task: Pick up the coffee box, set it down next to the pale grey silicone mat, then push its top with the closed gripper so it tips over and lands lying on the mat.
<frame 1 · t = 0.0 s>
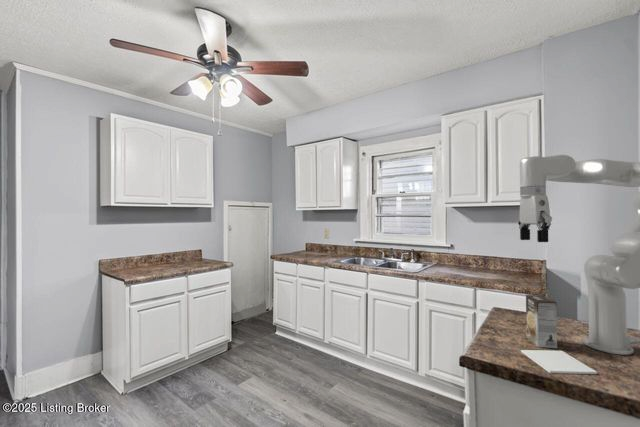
hand: (533, 240, 107), 37 cm above the counter, tool pointing down, fingers open, 9 cm apart
coffee box: (541, 343, 110), on the counter
mat: (556, 362, 95), on the counter
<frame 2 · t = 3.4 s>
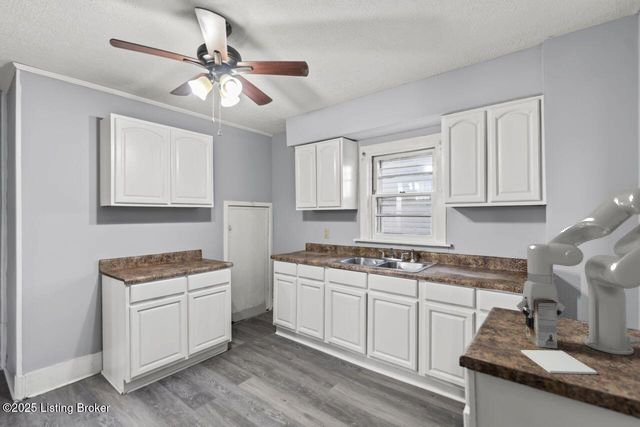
hand: (541, 327, 110), 5 cm above the counter, tool pointing down, fingers closed on coffee box, 6 cm apart
coffee box: (541, 343, 110), on the counter, touching gripper
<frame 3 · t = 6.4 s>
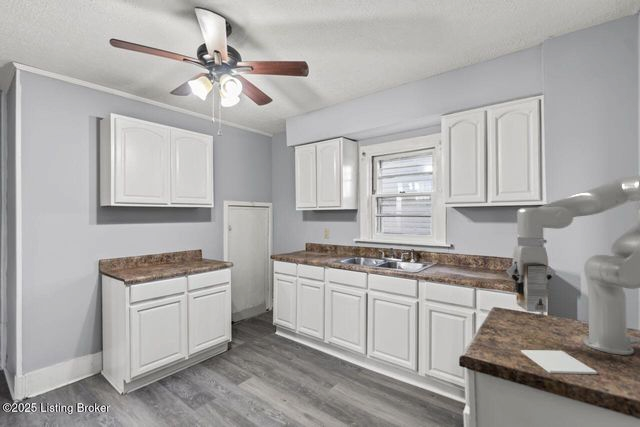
hand: (530, 293, 107), 18 cm above the counter, tool pointing down, fingers closed on coffee box, 6 cm apart
coffee box: (531, 308, 107), point 13 cm above the counter, touching gripper
when the fingers open (6 cm above the counter, at t = 9.5 s): coffee box stays where it is, on the counter.
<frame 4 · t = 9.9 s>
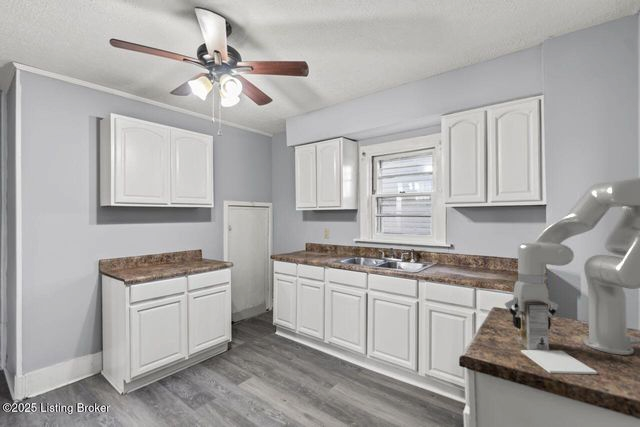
hand: (531, 327, 107), 6 cm above the counter, tool pointing down, fingers open, 9 cm apart
coffee box: (532, 346, 107), on the counter
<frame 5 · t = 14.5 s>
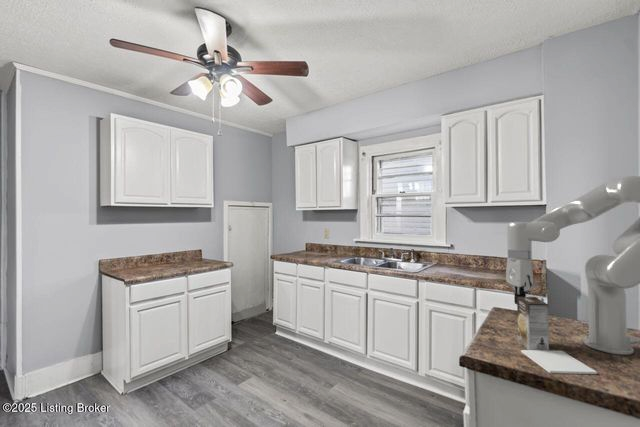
hand: (520, 304, 114), 13 cm above the counter, tool pointing down, fingers closed
coffee box: (532, 346, 107), on the counter, touching gripper
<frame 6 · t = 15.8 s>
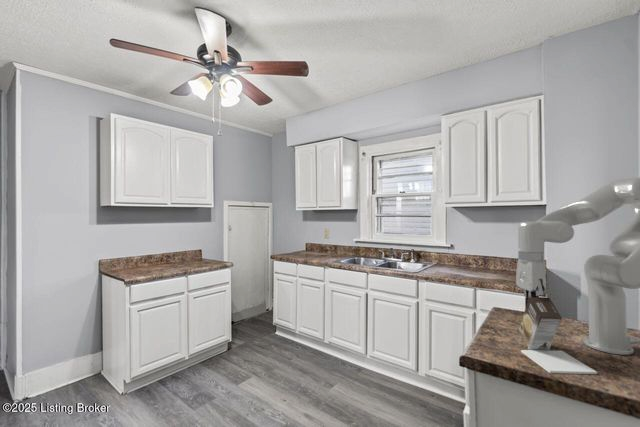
hand: (531, 309, 107), 13 cm above the counter, tool pointing down, fingers closed
coffee box: (533, 340, 107), point 2 cm above the counter, touching gripper
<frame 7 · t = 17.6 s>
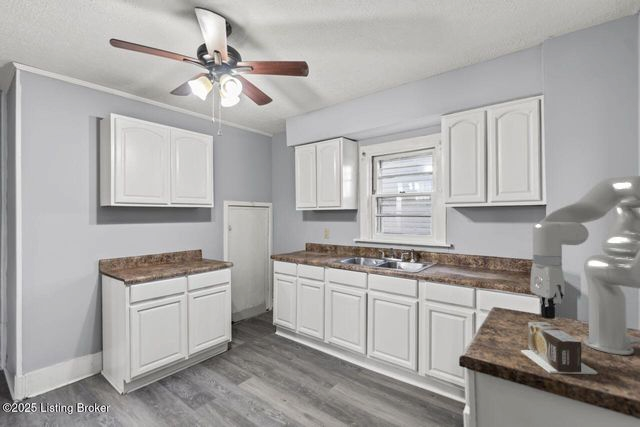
hand: (548, 317, 99), 13 cm above the counter, tool pointing down, fingers closed
coffee box: (537, 335, 104), point 5 cm above the counter, touching mat
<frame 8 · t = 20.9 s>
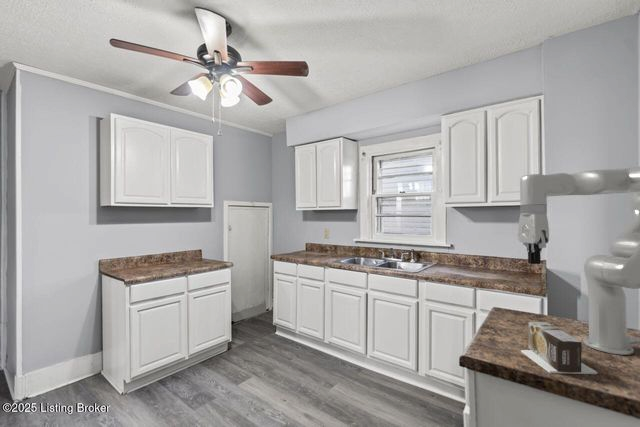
hand: (534, 263, 105), 29 cm above the counter, tool pointing down, fingers closed
nothing on the counter moved.
at the end: coffee box tilted 89°; coffee box inside the target area (10.0 cm from its centre), point 5.0 cm above the counter; the gripper is holding nothing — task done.
